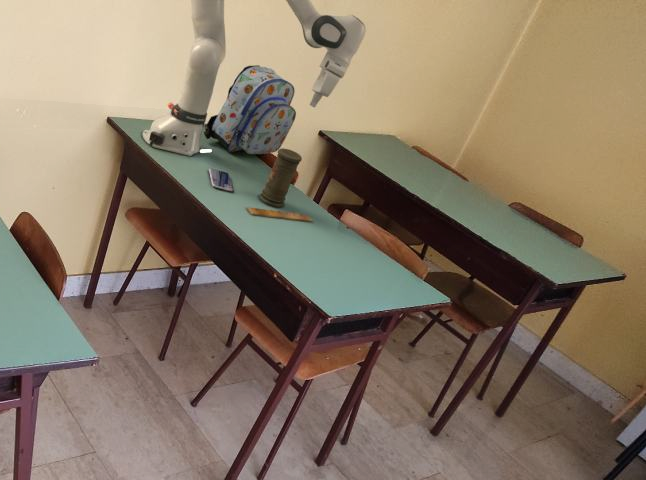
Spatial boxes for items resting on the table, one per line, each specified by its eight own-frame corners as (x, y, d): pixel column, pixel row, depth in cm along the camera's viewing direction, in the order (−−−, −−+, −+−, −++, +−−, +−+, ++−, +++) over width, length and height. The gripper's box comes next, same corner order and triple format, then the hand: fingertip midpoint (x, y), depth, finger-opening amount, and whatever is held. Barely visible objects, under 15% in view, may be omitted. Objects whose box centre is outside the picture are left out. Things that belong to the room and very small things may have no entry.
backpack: (243, 167, 234) (272, 85, 216) (195, 138, 245) (220, 57, 226) (288, 159, 257) (318, 84, 239) (243, 133, 268) (269, 59, 249)
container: (284, 201, 219) (303, 154, 209) (281, 210, 212) (302, 162, 202) (260, 192, 219) (279, 145, 209) (257, 201, 212) (276, 152, 202)
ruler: (251, 214, 202) (252, 213, 202) (247, 208, 205) (248, 207, 204) (311, 222, 212) (312, 220, 211) (306, 216, 215) (307, 214, 214)
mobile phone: (228, 172, 223) (233, 189, 211) (228, 174, 223) (232, 192, 212) (209, 167, 221) (212, 184, 209) (208, 169, 222) (212, 187, 210)
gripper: (320, 62, 218) (300, 100, 224) (330, 63, 200) (308, 104, 205) (335, 71, 219) (315, 108, 225) (346, 72, 201) (324, 113, 206)
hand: (312, 106), depth 215 cm, fingers closed
